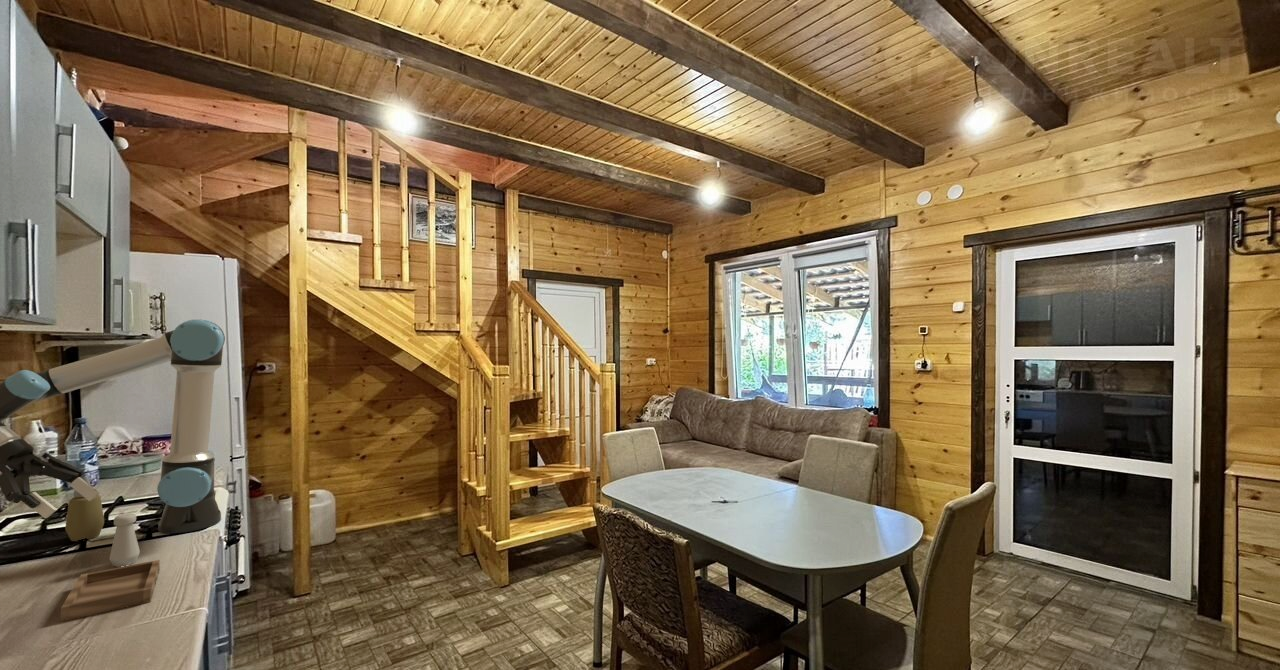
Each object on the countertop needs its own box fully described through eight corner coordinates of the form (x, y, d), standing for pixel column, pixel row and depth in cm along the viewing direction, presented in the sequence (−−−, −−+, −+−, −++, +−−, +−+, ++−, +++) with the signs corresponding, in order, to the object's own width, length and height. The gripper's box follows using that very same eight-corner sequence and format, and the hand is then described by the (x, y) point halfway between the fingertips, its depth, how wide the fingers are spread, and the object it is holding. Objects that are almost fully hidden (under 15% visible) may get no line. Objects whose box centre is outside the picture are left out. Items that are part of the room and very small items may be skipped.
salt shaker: (120, 569, 137) (120, 519, 137) (103, 567, 138) (103, 517, 138) (145, 560, 143) (145, 511, 143) (128, 558, 144) (129, 510, 144)
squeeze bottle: (92, 541, 155) (92, 479, 155) (57, 544, 152) (57, 481, 152) (111, 531, 163) (111, 472, 162) (77, 534, 160) (77, 474, 160)
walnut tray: (81, 586, 128) (81, 574, 128) (159, 571, 137) (159, 559, 137) (61, 621, 113) (61, 607, 113) (150, 601, 121) (150, 588, 121)
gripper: (34, 448, 146) (99, 500, 150) (-64, 472, 122) (16, 533, 125) (58, 429, 148) (121, 481, 151) (-34, 448, 123) (44, 510, 126)
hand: (74, 505), depth 138 cm, fingers open, 13 cm apart
